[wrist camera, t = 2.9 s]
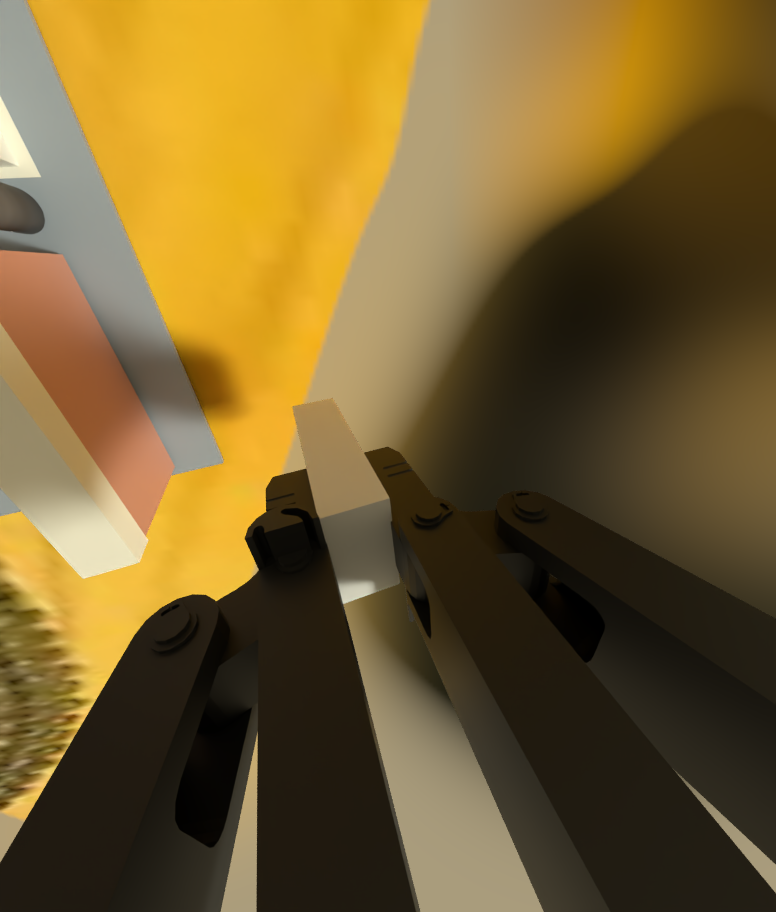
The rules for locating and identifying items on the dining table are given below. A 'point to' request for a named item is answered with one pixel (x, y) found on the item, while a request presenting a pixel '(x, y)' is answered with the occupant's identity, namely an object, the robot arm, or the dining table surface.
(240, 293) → the dining table surface
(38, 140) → the mat
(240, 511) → the dining table surface
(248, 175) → the dining table surface
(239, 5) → the dining table surface
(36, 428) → the cream pink flat block
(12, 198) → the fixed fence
